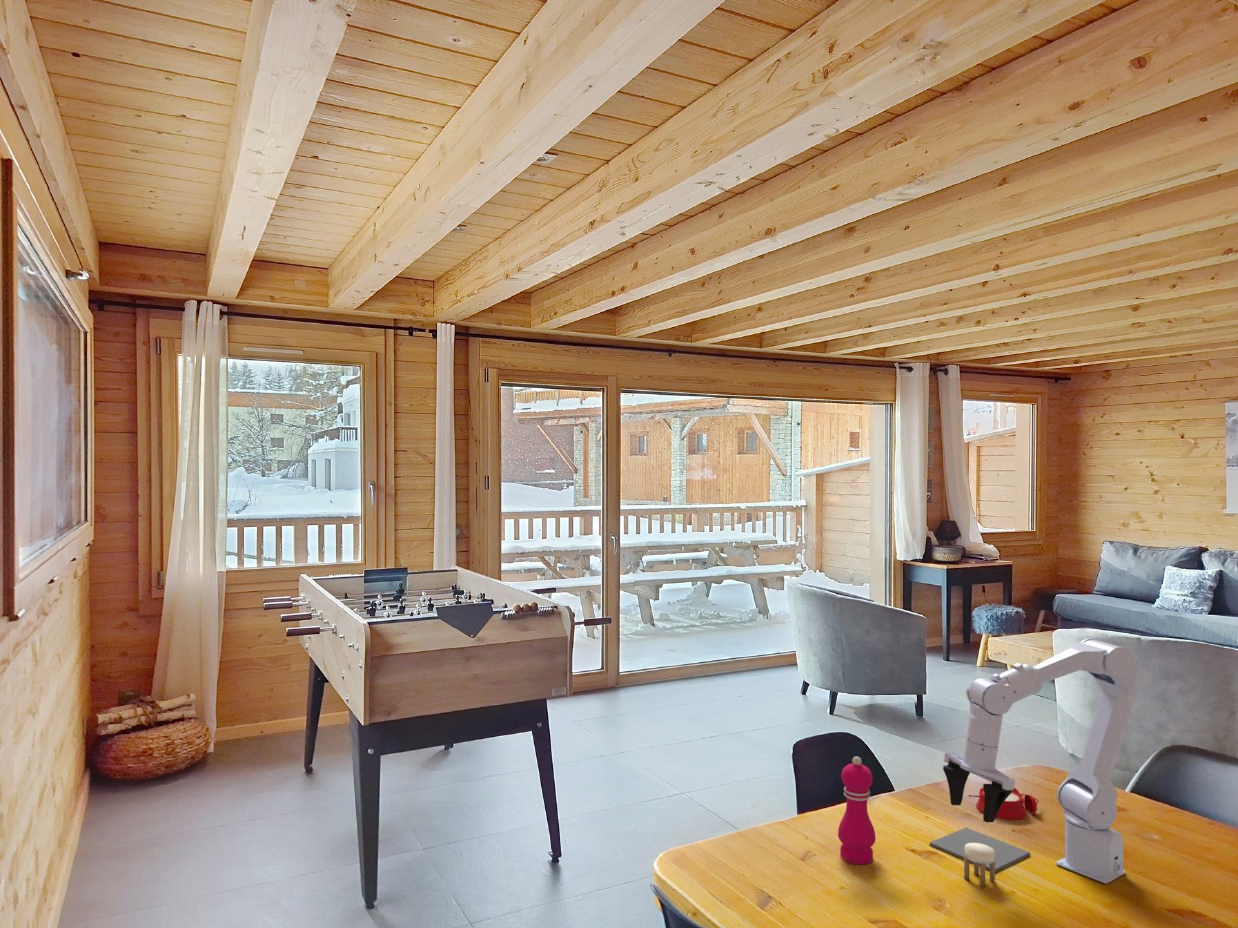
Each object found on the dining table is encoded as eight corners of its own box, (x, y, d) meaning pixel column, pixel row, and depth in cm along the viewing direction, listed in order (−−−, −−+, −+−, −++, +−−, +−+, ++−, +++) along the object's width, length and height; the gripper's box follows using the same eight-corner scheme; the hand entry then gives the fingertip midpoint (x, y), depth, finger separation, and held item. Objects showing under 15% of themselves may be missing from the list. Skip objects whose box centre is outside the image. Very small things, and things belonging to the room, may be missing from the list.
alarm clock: (962, 790, 189) (1012, 769, 194) (967, 815, 190) (1016, 794, 194) (995, 807, 179) (1047, 784, 184) (1001, 834, 180) (1052, 811, 184)
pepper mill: (877, 867, 158) (877, 764, 159) (839, 863, 160) (839, 761, 160) (873, 850, 165) (873, 752, 166) (836, 847, 167) (837, 749, 167)
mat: (1030, 855, 164) (1030, 852, 164) (994, 872, 157) (994, 869, 157) (966, 829, 176) (966, 827, 176) (929, 845, 168) (929, 842, 168)
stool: (1000, 881, 153) (1000, 850, 153) (984, 889, 150) (984, 857, 150) (974, 870, 157) (974, 840, 158) (958, 877, 154) (959, 846, 155)
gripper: (937, 729, 162) (927, 797, 161) (1000, 755, 149) (989, 830, 148) (962, 729, 165) (952, 796, 164) (1025, 756, 152) (1015, 828, 151)
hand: (971, 812), depth 157 cm, fingers open, 7 cm apart
